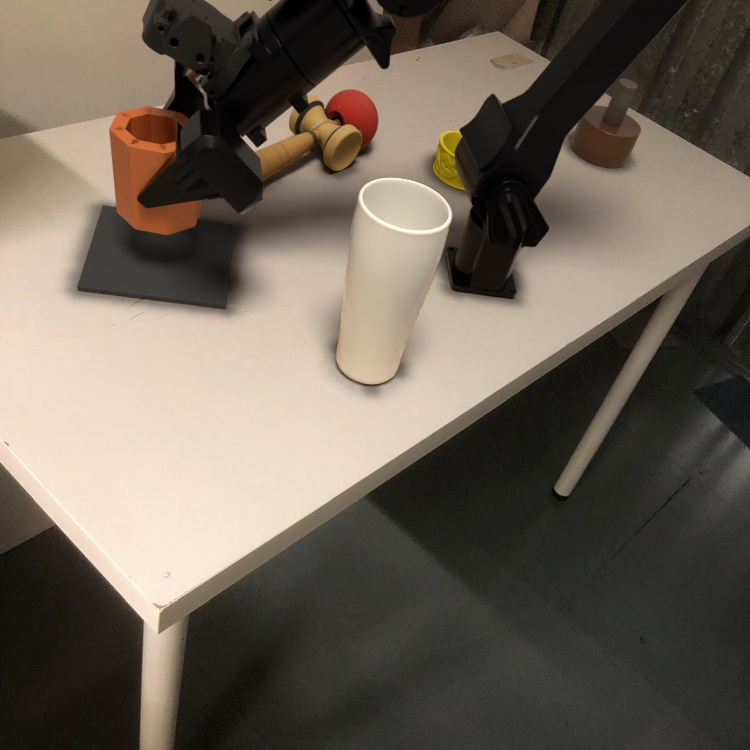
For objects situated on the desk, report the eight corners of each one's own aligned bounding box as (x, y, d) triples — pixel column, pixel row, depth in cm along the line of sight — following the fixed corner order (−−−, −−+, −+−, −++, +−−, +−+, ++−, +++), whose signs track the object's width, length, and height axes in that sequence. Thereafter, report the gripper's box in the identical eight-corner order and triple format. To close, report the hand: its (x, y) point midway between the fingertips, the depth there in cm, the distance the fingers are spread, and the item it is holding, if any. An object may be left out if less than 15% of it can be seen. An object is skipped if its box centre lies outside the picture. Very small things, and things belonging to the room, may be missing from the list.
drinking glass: (357, 327, 66) (393, 165, 54) (420, 366, 64) (471, 209, 52) (309, 363, 62) (337, 197, 50) (375, 406, 60) (420, 246, 48)
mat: (225, 309, 64) (225, 305, 63) (77, 290, 61) (76, 286, 61) (235, 227, 71) (235, 224, 71) (103, 208, 69) (102, 204, 68)
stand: (633, 172, 94) (666, 104, 87) (576, 162, 93) (606, 92, 86) (618, 141, 99) (649, 74, 92) (564, 131, 97) (592, 63, 91)
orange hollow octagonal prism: (170, 182, 65) (167, 101, 60) (214, 220, 63) (215, 140, 58) (103, 200, 62) (94, 116, 56) (148, 241, 60) (143, 158, 54)
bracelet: (509, 193, 85) (519, 166, 82) (445, 192, 82) (453, 164, 80) (486, 158, 89) (495, 131, 86) (424, 156, 86) (431, 127, 84)
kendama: (282, 218, 75) (396, 147, 84) (273, 156, 71) (396, 88, 79) (230, 193, 79) (345, 127, 87) (218, 133, 74) (342, 69, 82)
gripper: (208, -105, 54) (65, 40, 60) (220, 4, 43) (43, 167, 49) (304, 30, 62) (169, 145, 68) (334, 149, 51) (171, 274, 57)
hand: (141, 178), depth 60 cm, fingers closed on orange hollow octagonal prism, 7 cm apart
